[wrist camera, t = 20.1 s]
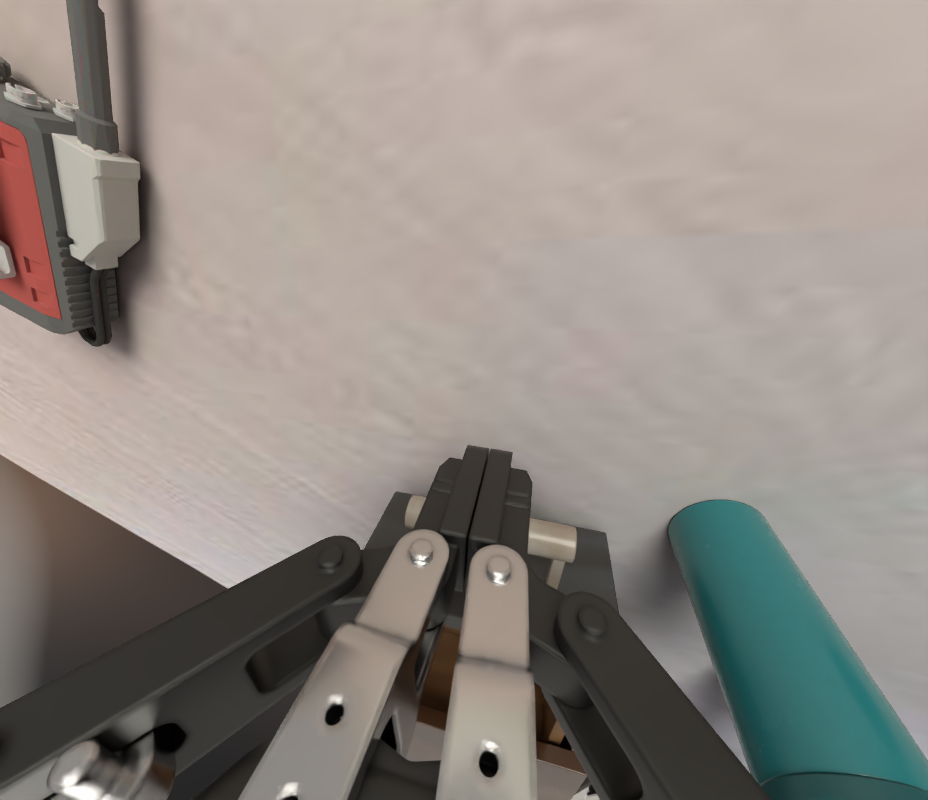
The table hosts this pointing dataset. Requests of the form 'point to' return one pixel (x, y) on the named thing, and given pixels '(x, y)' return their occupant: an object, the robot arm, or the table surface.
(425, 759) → the cabinet
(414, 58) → the table surface
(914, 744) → the tin
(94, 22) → the walkie-talkie
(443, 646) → the drawer
